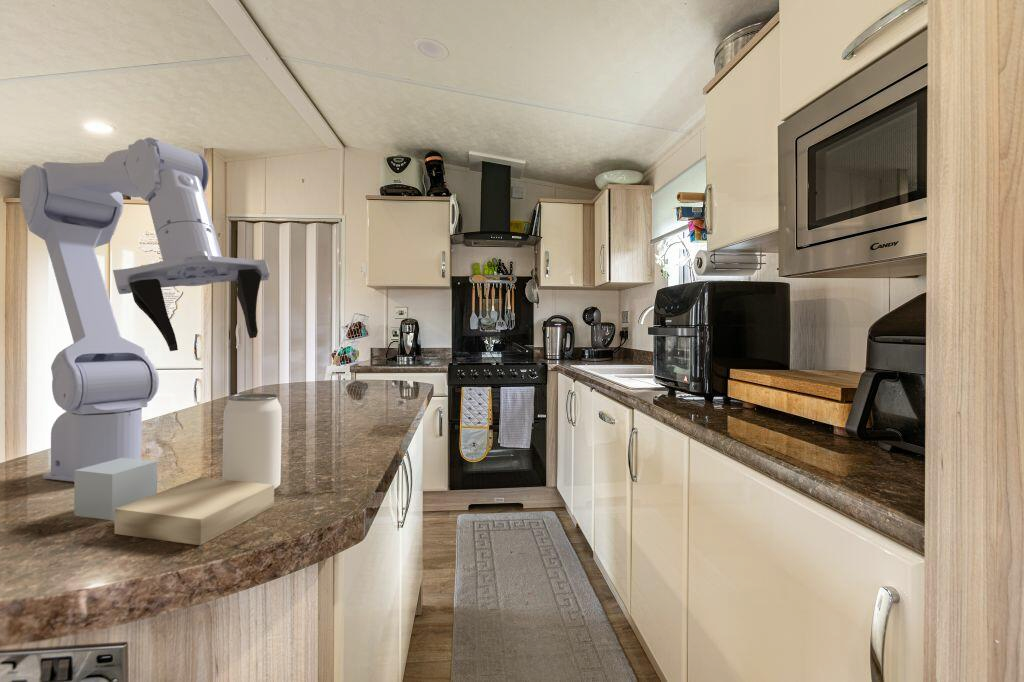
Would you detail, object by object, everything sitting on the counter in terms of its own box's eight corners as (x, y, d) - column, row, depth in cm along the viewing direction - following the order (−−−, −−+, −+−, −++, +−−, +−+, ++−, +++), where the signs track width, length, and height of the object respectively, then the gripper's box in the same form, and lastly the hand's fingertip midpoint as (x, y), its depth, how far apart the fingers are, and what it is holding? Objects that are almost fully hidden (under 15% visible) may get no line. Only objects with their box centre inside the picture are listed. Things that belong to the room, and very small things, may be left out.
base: (114, 533, 45) (114, 508, 45) (200, 497, 55) (201, 477, 55) (200, 545, 43) (200, 519, 43) (273, 505, 53) (274, 484, 53)
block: (74, 516, 49) (74, 470, 49) (121, 499, 54) (122, 457, 54) (112, 520, 48) (112, 474, 48) (156, 503, 53) (157, 461, 53)
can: (254, 501, 54) (256, 401, 54) (209, 495, 56) (210, 398, 55) (291, 483, 61) (293, 394, 60) (249, 479, 62) (251, 391, 62)
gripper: (98, 216, 46) (127, 340, 43) (258, 214, 55) (289, 316, 52) (110, 252, 51) (136, 363, 49) (253, 244, 60) (281, 338, 58)
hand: (215, 341), depth 51 cm, fingers open, 7 cm apart
